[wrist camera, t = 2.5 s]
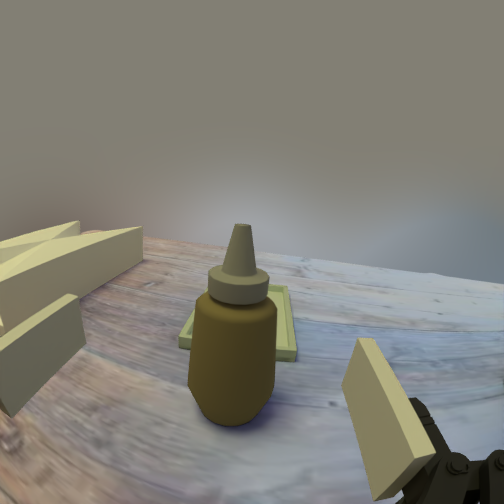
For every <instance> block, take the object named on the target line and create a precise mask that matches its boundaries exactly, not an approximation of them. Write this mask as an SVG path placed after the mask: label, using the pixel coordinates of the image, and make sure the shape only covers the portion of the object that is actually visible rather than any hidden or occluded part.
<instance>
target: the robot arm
mask: <svg viewBox="0 0 504 504" xmlns="http://www.w3.org/2000/svg"><path fill="white" fill-rule="evenodd" d="M85 344H86V338H85V333H84V328H83V322H82V316H81V310H80V303H79V296H76V295H72V294H66V295H64V296H63V297H61V298H60V299H58V300H56V301H55V302H53V303H52V304H50V305H48V306H47V307H45V308H44V309H42V310H41V311H39V312H37V313H36V314H34V315H33V316H31V317H30V318H28V319H27V320H25V321H24V322H22V323H21V324H19V325H18V326H16V327H15V328H13V329H12V330H10V331H9V332H6V333H5V334H3V335H2V336H1V337H0V409H1V410H2V411H3V412H4V413H5V414H7V415H8V416H9V417H10V418H13V417H14V416H15V415H16V414H17V413H18V411H19V410H20V409H21V408H22V407H23V406H24V405H25V404H26V403H27V402H28V401H29V400H30V399H31V398H32V397H33V396H34V395H35V394H36V393H37V392H38V390H39V389H40V388H41V387H42V386H43V385H44V384H45V383H46V382H47V381H48V380H49V379H50V378H51V377H52V376H53V375H54V374H55V373H56V372H57V371H58V370H59V369H60V368H61V367H62V366H63V365H64V364H65V363H66V362H67V361H68V360H70V359H71V358H72V357H73V356H74V355H75V354H76V353H77V352H78V351H79V350H80V349H81V348H82V347H83V346H84V345H85ZM341 386H342V389H343V392H344V396H345V399H346V402H347V405H348V409H349V412H350V415H351V419H352V422H353V426H354V429H355V433H356V436H357V440H358V443H359V447H360V451H361V454H362V458H363V462H364V466H365V470H366V473H367V477H368V481H369V485H370V489H371V494H372V498H373V501H378V500H383V499H387V498H392V497H394V496H395V495H396V494H397V493H398V492H399V491H400V490H402V491H403V494H404V496H403V497H402V498H401V499H400V500H399V501H398V502H396V503H395V504H478V502H479V501H480V504H504V450H495V451H494V452H492V453H491V454H490V455H489V456H488V457H487V459H486V460H480V461H469V459H468V458H467V457H466V456H464V455H463V454H461V453H456V452H451V451H450V449H449V447H448V445H447V444H446V442H445V440H444V438H443V436H442V434H441V433H440V431H439V429H438V427H437V425H436V424H434V423H435V422H434V420H433V418H432V417H430V413H429V411H428V410H427V408H426V406H425V405H424V404H423V403H422V402H421V401H419V400H418V399H417V398H408V397H407V396H406V394H405V392H404V390H403V389H402V387H401V385H400V383H399V381H398V380H397V378H396V376H395V374H394V373H393V371H392V369H391V368H390V366H389V364H388V362H387V361H386V359H385V357H384V356H383V354H382V352H381V351H380V349H379V347H378V346H377V344H376V342H375V341H374V339H373V338H357V341H356V344H355V348H354V351H353V354H352V357H351V360H350V363H349V366H348V368H347V371H346V374H345V377H344V379H343V382H342V385H341Z"/></svg>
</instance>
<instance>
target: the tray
mask: <svg viewBox="0 0 504 504" xmlns="http://www.w3.org/2000/svg"><path fill="white" fill-rule="evenodd" d="M207 291H208V287H207V289H206V290H205V292H207ZM205 292H204V293H205ZM267 297H269V298H270V299H271V300H272V301H273V302H274V303H275V305H276V307H277V337H276V361H286V362H295V357H296V353H297V348H296V341H295V334H294V327H293V320H292V314H291V307H290V301H289V294H288V288H287V286H283V285H273V284H269V286H268V295H267ZM194 314H195V309H194V310H193V312H192V314H191V316H190V317H189V319H188V321H187V322H186V324H185V326H184V328H183V329H182V331H181V333H180V334H179V336H178V340H179V348H183V349H189V350H191V341H192V332H193V323H194Z"/></svg>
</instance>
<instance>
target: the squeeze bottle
mask: <svg viewBox="0 0 504 504" xmlns="http://www.w3.org/2000/svg"><path fill="white" fill-rule="evenodd" d="M269 278H270V277H269V276H268V274H267V273H266V272H265V271H263V270H261V269H259V268H256V263H255V255H254V246H253V238H252V231H251V225H247V224H235V226H234V229H233V232H232V236H231V239H230V243H229V246H228V249H227V253H226V256H225V259H224V263H223V265H219V266H216V267H213V268H212V269H210V270H209V273H208V291H207V292H205V293H204V294H202V295H201V296H200V297H199V298H198V299H197V300H196V306H195V314H194V323H193V332H192V341H191V351H190V361H189V372H188V387H189V389H190V391H191V393H192V395H193V397H194V398H195V400H196V402H197V404H198V406H199V407H200V409H201V411H202V412H203V414H204V416H205V417H207V418H208V419H209V420H211V421H212V422H214V423H217V424H220V425H224V426H239V425H242V424H244V423H247V422H249V421H250V420H252V419H253V418H254V417H255V416H256V415H257V414H258V412H259V411H260V410H261V409H262V407H263V406H264V405H265V403H266V402H267V401H268V399H269V398H270V397H271V394H272V391H273V388H274V381H275V361H276V337H277V307H276V305H275V303H274V302H273V301H272V300H271V299H270V298H269V297H267V295H268V286H269Z"/></svg>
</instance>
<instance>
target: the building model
mask: <svg viewBox="0 0 504 504" xmlns="http://www.w3.org/2000/svg"><path fill="white" fill-rule="evenodd" d="M141 261H143V226H141V227H133V228H126V229H118V230H111V231H104V232H97V233H91V234H84V235H80V221H74V222H70V223H66V224H62V225H58V226H55V227H51V228H47V229H43V230H40V231H36V232H32V233H29V234H25V235H22V236H19V237H15V238H12V239H8V240H5V241H2V242H0V337H1V336H2V335H3V334H5V333H6V332H9V331H10V330H12V329H13V328H15V327H16V326H18V325H19V324H21V323H22V322H24V321H25V320H27V319H28V318H30V317H31V316H33V315H34V314H36V313H37V312H39V311H41V310H42V309H44V308H45V307H47V306H48V305H50V304H52V303H53V302H55V301H56V300H58V299H60V298H61V297H63V296H64V295H66V294H72V295H76V296H79V299H81V298H82V297H84V296H85V295H87V294H88V293H90V292H92V291H93V290H95V289H96V288H98V287H100V286H101V285H103V284H105V283H106V282H108V281H109V280H111V279H113V278H114V277H116V276H118V275H119V274H121V273H123V272H124V271H126V270H128V269H129V268H131V267H133V266H134V265H136V264H138V263H139V262H141Z"/></svg>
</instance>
